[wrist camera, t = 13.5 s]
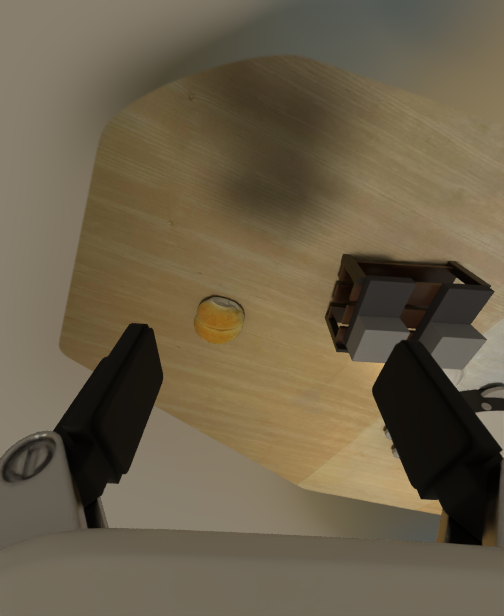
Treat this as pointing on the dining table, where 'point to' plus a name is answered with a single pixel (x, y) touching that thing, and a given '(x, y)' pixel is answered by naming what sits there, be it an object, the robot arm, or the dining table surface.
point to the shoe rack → (423, 275)
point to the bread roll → (218, 320)
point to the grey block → (453, 324)
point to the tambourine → (484, 412)
